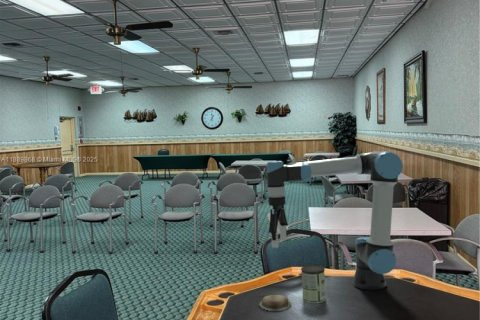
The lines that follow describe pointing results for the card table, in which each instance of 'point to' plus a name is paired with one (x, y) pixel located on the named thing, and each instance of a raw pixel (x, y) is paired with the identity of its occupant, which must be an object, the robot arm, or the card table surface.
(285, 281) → the card table surface
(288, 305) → the brown domed disc
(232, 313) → the card table surface
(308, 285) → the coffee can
